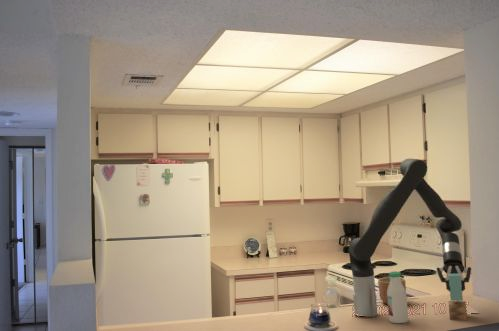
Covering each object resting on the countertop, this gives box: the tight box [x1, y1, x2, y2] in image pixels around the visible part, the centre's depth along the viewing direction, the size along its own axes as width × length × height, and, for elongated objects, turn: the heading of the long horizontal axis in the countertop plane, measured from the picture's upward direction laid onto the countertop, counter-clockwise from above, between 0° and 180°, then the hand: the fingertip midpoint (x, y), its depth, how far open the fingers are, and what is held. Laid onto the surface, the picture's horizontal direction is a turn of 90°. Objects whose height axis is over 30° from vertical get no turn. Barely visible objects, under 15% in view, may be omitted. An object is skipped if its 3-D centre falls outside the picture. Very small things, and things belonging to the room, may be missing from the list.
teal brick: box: [448, 273, 464, 301], centre depth 201 cm, size 4×4×10 cm
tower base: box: [448, 300, 468, 321], centre depth 201 cm, size 6×6×6 cm
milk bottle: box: [387, 271, 409, 324], centre depth 202 cm, size 8×8×20 cm
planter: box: [377, 276, 407, 305], centre depth 230 cm, size 12×12×11 cm
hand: (456, 290), depth 199 cm, fingers closed on teal brick, 4 cm apart
